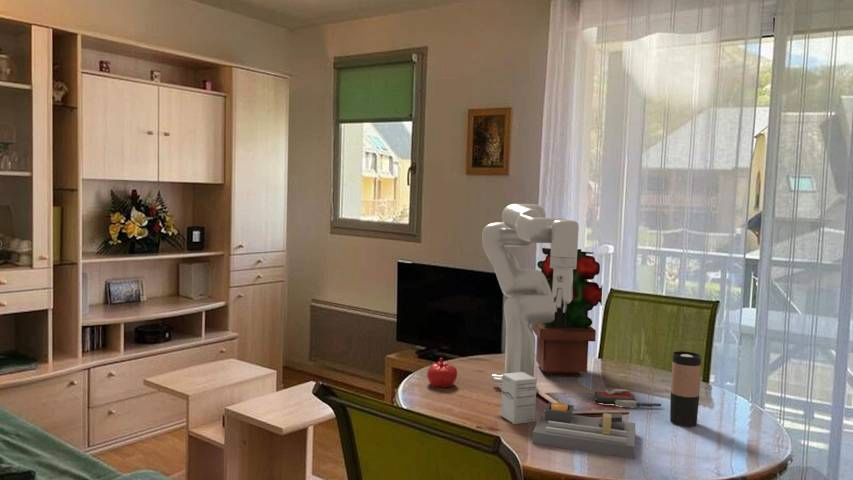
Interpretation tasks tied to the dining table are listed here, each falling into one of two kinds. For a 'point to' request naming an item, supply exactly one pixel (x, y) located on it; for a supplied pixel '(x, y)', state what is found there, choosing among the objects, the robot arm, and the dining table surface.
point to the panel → (583, 433)
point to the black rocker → (615, 417)
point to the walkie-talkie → (620, 398)
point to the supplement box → (518, 397)
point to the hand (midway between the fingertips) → (559, 325)
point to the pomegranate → (442, 374)
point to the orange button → (559, 406)
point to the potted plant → (569, 321)
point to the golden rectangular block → (606, 424)
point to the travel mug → (685, 388)
